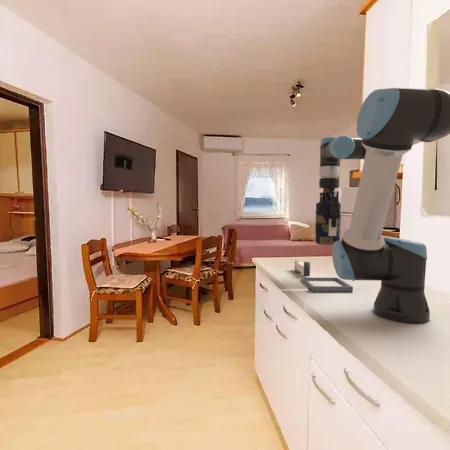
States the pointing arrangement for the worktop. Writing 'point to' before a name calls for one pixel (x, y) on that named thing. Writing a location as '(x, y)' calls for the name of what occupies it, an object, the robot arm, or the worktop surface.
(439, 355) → the worktop surface
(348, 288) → the tray
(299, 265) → the crank
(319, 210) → the canister
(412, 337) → the worktop surface
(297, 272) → the crank base
